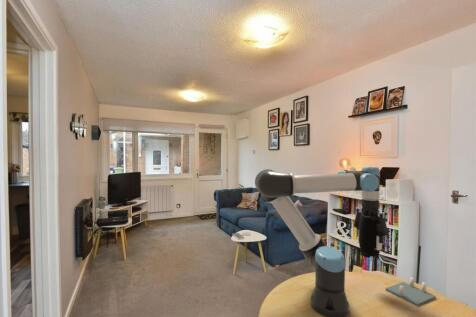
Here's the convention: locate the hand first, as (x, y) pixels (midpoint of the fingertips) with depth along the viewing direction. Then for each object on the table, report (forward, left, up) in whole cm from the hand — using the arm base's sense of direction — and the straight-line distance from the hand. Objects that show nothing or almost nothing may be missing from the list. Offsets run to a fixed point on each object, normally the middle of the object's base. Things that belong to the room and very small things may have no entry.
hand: (369, 246), depth 119 cm
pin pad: (+13, -11, -21) cm, 27 cm away
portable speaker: (0, 0, -5) cm, 5 cm away
